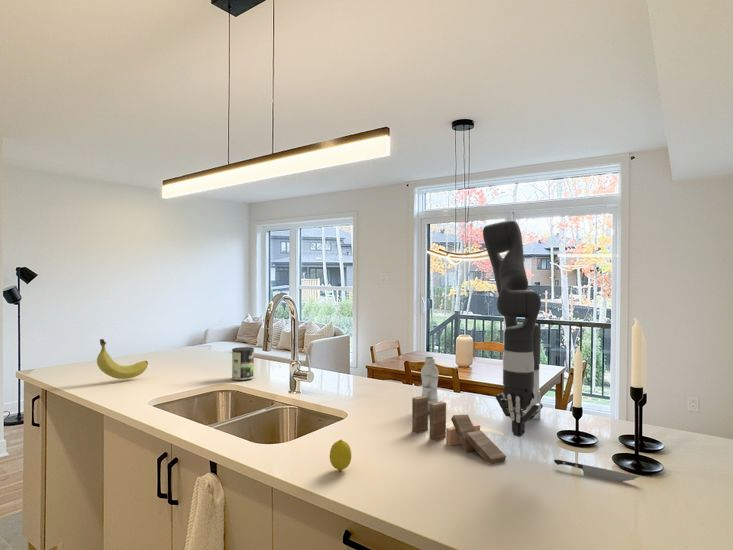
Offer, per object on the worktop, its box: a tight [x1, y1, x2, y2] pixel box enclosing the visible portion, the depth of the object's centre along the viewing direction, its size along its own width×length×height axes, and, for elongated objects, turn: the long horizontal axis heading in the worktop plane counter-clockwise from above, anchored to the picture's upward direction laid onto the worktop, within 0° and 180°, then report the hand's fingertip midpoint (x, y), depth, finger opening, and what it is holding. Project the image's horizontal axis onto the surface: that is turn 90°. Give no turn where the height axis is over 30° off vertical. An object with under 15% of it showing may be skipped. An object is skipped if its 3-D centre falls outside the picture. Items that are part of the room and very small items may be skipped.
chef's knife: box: [553, 459, 641, 482], centre depth 111 cm, size 19×1×3 cm, turn 59°
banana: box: [96, 338, 149, 380], centre depth 214 cm, size 23×6×20 cm, turn 140°
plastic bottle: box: [420, 356, 440, 414], centre depth 165 cm, size 6×7×20 cm
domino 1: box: [411, 395, 429, 434], centre depth 144 cm, size 2×5×11 cm, turn 126°
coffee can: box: [231, 346, 255, 381], centre depth 219 cm, size 10×10×14 cm
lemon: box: [329, 439, 352, 472], centre depth 114 cm, size 6×6×8 cm
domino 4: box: [450, 414, 477, 453], centre depth 131 cm, size 2×5×11 cm
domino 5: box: [465, 429, 507, 465], centre depth 124 cm, size 2×5×11 cm
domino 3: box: [445, 422, 481, 446], centre depth 135 cm, size 2×5×11 cm
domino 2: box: [428, 400, 447, 442], centre depth 138 cm, size 2×5×11 cm, turn 125°
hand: (518, 435), depth 115 cm, fingers closed
